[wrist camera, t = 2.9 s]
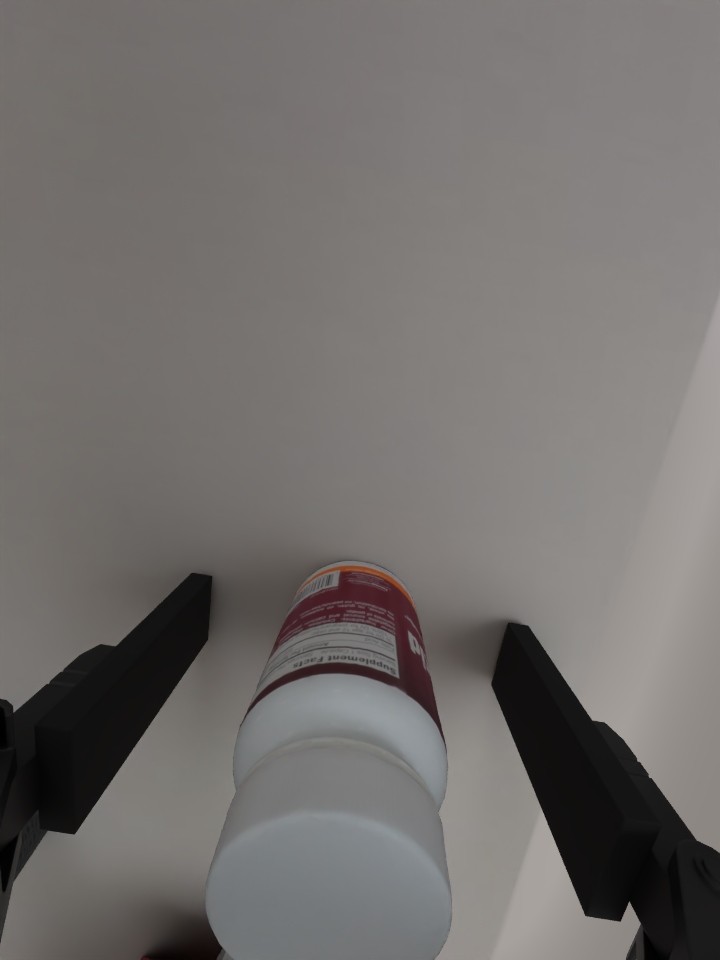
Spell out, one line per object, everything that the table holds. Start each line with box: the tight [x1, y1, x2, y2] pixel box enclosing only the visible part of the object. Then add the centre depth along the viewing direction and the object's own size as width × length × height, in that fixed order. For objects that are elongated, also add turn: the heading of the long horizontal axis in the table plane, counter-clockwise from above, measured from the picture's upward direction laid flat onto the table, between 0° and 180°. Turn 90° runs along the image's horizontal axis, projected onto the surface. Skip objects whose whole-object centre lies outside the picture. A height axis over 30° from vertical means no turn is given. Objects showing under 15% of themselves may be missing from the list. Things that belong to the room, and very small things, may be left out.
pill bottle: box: [205, 561, 452, 960], centre depth 10 cm, size 5×5×8 cm
